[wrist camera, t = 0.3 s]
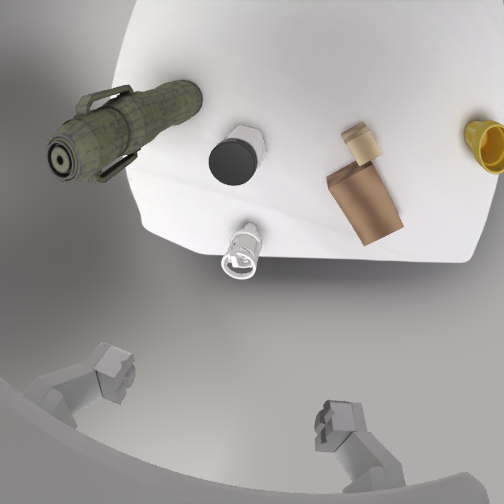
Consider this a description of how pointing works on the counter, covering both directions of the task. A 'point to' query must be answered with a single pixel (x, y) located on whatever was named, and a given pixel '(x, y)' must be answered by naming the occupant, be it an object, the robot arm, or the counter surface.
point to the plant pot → (487, 144)
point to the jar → (237, 156)
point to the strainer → (243, 251)
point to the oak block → (361, 144)
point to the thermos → (117, 129)
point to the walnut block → (364, 201)
